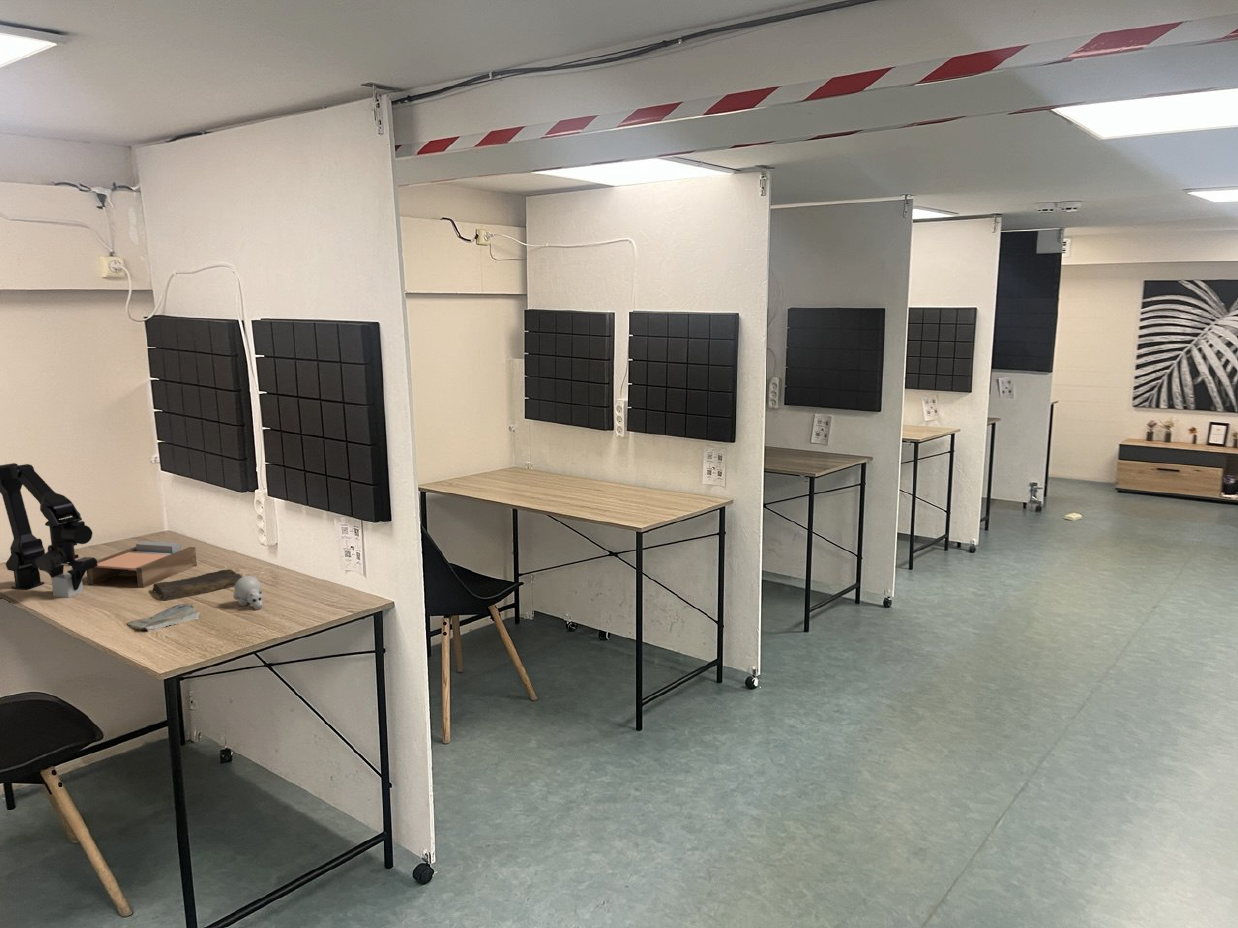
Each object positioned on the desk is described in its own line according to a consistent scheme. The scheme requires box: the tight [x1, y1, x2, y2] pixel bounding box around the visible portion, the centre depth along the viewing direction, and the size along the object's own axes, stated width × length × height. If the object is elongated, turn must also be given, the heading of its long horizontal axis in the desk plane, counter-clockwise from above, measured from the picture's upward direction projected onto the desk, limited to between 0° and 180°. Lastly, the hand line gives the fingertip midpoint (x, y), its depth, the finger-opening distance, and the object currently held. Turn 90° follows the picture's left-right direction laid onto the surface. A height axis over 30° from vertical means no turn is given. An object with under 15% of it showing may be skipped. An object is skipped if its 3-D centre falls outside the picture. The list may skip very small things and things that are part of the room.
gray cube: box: [50, 571, 84, 598], centre depth 265 cm, size 6×6×6 cm
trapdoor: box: [96, 540, 182, 571], centre depth 283 cm, size 16×22×5 cm
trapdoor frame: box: [86, 546, 198, 589], centre depth 285 cm, size 21×25×6 cm
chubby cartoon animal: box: [233, 575, 264, 610], centre depth 254 cm, size 7×12×8 cm, turn 45°
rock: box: [152, 568, 243, 601], centre depth 272 cm, size 25×4×15 cm
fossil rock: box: [125, 602, 200, 632], centre depth 244 cm, size 18×15×2 cm
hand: (67, 589), depth 265 cm, fingers closed on gray cube, 5 cm apart
